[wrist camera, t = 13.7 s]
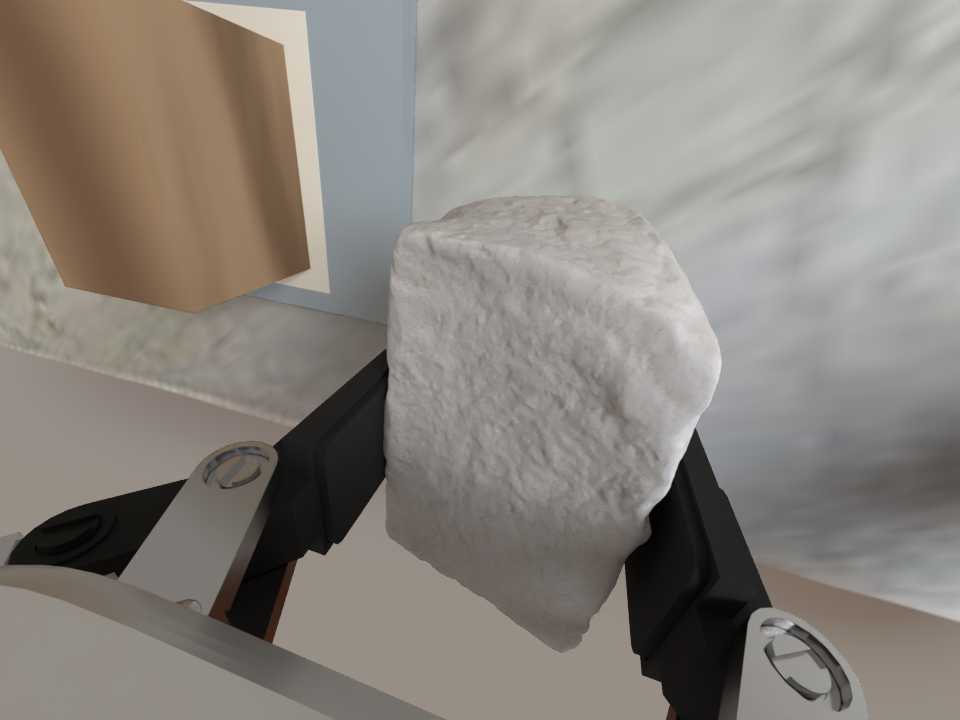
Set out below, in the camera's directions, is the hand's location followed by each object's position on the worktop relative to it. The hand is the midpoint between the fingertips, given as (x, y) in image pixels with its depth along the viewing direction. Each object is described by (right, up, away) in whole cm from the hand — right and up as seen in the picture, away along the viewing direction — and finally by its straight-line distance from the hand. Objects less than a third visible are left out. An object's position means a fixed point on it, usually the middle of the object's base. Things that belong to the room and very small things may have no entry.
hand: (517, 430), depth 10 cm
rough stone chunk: (0, +1, +1) cm, 2 cm away
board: (-11, +11, +6) cm, 16 cm away
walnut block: (-11, +10, +5) cm, 16 cm away
